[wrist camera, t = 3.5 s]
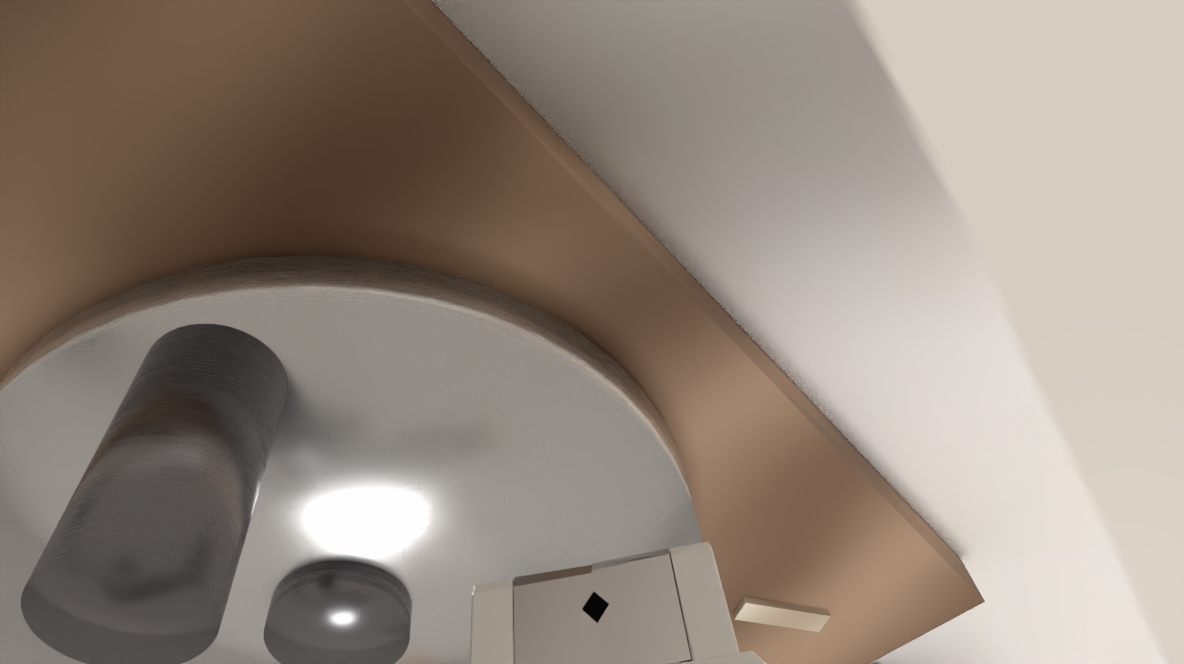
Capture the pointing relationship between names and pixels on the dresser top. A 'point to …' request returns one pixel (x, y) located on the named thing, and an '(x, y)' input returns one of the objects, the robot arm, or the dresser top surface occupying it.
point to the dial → (311, 466)
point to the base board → (435, 258)
